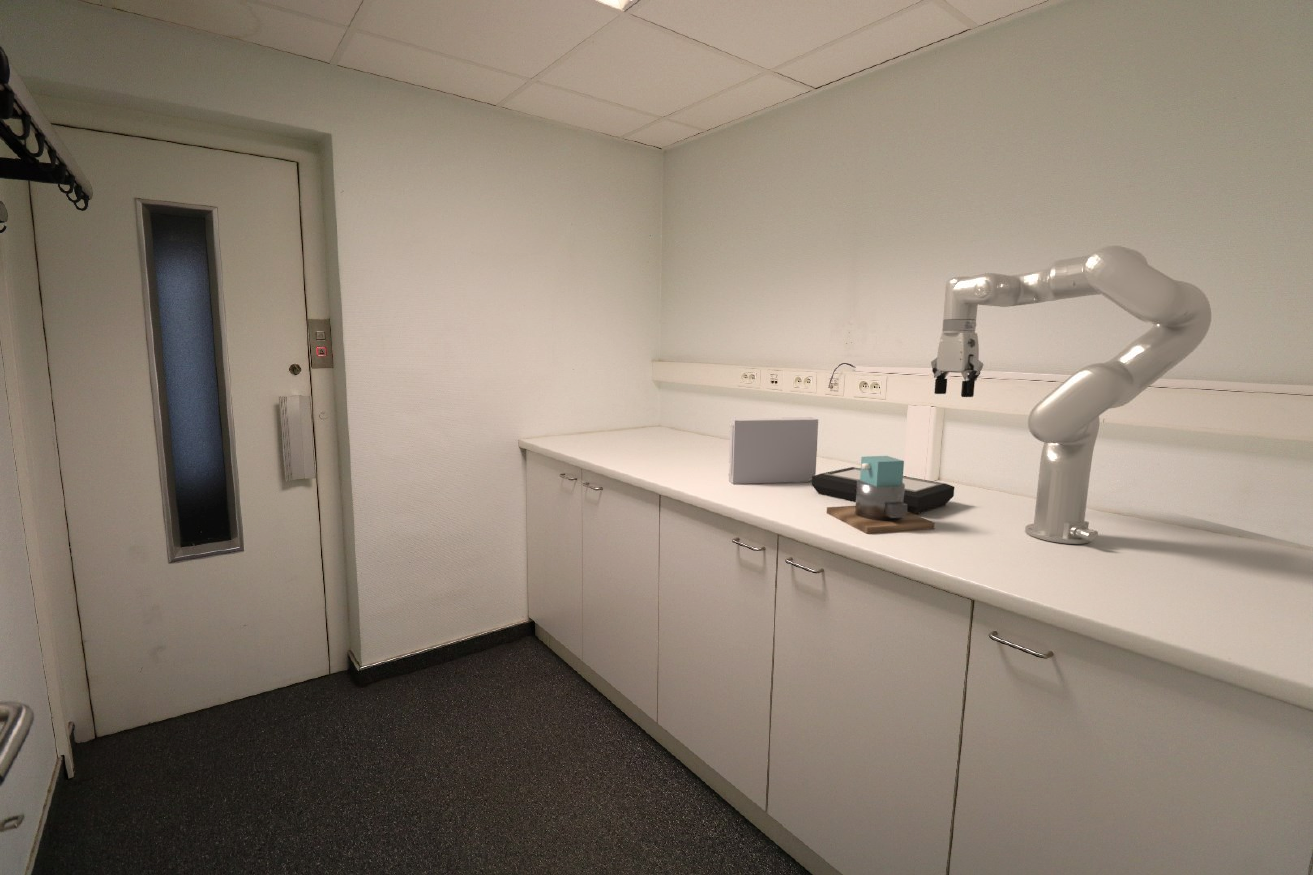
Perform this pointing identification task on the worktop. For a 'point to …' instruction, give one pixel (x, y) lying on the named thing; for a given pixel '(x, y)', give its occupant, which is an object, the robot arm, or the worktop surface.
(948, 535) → the worktop surface
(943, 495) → the electronic device
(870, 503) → the motor
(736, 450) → the upright gray panel box
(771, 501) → the worktop surface
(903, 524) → the mounting board
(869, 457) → the block
